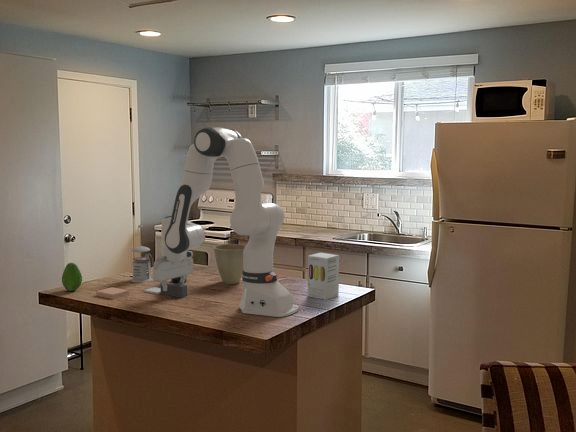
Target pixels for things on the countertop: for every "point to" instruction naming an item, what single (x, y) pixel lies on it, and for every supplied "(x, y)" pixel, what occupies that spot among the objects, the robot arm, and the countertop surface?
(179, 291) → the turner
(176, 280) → the supplement bottle
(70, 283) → the avocado
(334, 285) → the supplement box
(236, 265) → the plant pot
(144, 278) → the french press
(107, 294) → the glazed tile
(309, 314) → the countertop surface
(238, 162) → the robot arm
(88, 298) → the countertop surface
